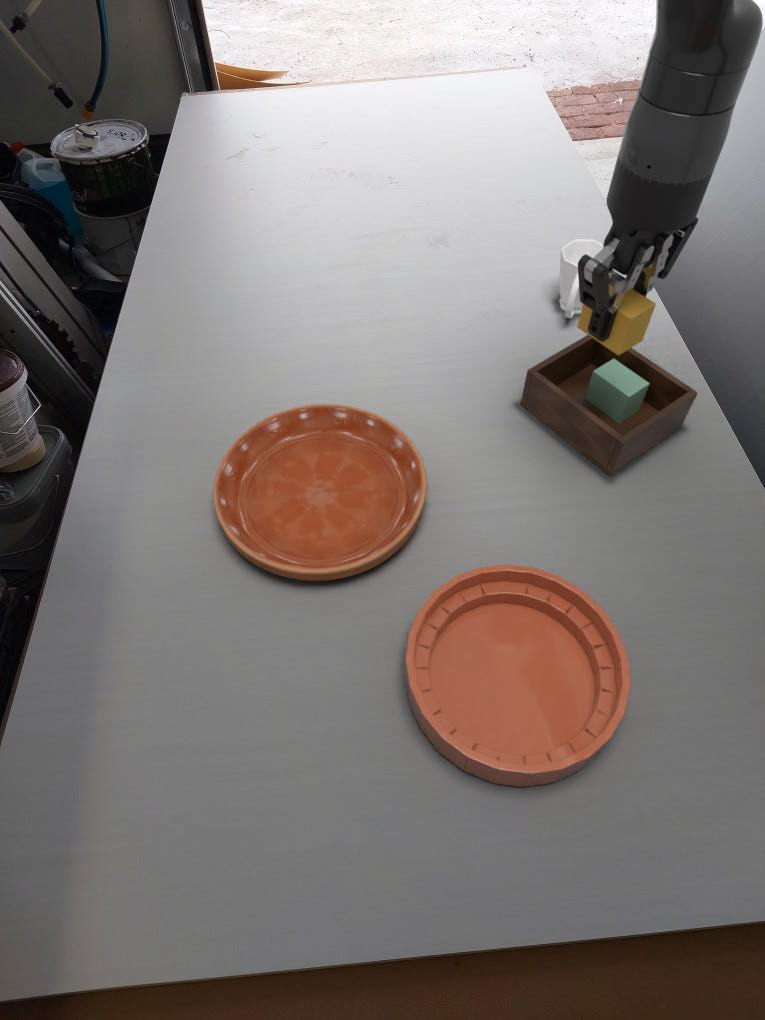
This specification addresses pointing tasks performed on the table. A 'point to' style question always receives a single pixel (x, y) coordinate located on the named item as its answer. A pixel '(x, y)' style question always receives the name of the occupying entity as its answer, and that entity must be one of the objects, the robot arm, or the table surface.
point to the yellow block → (624, 321)
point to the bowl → (516, 674)
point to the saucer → (320, 492)
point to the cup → (574, 273)
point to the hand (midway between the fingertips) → (612, 326)
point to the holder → (602, 440)
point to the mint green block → (616, 390)
